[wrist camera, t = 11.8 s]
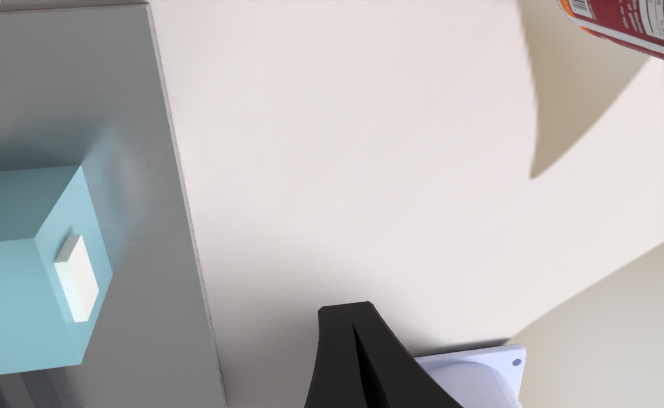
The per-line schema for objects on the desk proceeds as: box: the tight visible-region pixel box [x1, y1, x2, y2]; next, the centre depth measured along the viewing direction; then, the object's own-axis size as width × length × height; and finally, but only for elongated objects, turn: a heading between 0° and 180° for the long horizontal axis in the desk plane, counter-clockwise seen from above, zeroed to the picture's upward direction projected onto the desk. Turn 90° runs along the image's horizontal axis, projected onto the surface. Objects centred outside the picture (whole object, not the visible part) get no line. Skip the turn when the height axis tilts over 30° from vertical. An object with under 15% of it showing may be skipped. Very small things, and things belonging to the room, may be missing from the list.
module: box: [0, 165, 113, 375], centre depth 18 cm, size 5×4×5 cm
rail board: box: [0, 3, 228, 408], centre depth 21 cm, size 22×10×3 cm, turn 2°
